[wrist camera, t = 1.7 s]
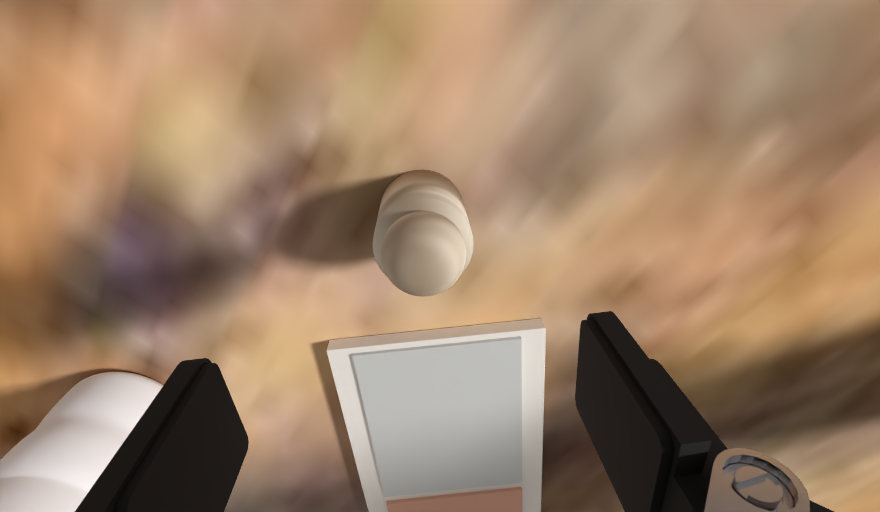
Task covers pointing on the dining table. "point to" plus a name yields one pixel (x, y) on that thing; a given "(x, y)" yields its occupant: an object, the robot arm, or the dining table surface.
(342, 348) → the board
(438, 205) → the pawn
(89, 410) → the water bottle
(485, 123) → the dining table surface
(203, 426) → the robot arm
